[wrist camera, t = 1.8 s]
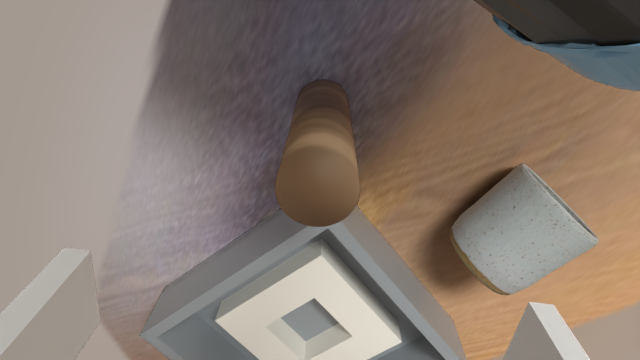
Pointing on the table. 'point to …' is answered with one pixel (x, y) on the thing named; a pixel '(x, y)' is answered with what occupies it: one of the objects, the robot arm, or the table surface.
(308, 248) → the grey box
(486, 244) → the ceramic mug
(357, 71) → the table surface
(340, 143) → the walnut peg
